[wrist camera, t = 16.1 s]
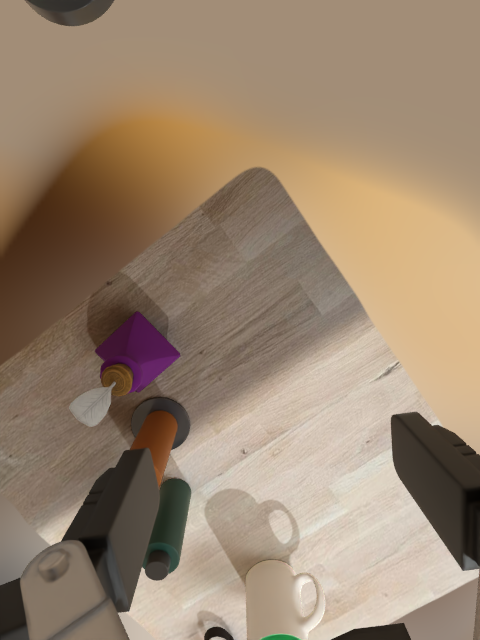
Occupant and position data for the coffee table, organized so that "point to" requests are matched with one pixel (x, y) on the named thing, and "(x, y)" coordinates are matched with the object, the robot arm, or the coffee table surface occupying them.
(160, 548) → the green bottle
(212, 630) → the watch
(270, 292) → the coffee table surface
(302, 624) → the mug
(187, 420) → the slate coaster
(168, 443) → the amber bottle
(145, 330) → the perfume bottle
